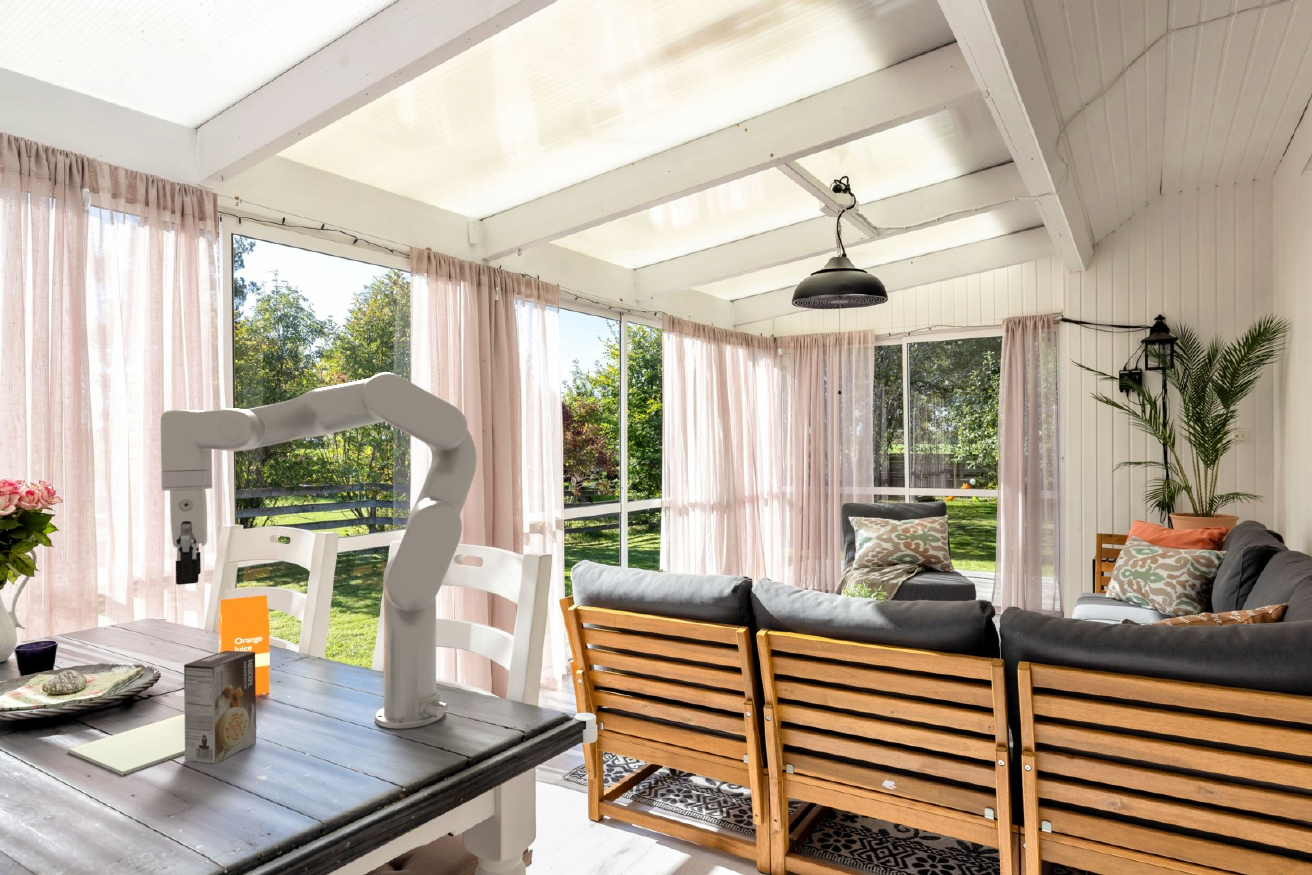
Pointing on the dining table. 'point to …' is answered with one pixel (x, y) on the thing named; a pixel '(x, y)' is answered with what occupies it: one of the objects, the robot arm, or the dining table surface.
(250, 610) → the orange juice
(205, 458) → the robot arm
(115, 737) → the mat
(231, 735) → the coffee box
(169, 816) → the dining table surface
